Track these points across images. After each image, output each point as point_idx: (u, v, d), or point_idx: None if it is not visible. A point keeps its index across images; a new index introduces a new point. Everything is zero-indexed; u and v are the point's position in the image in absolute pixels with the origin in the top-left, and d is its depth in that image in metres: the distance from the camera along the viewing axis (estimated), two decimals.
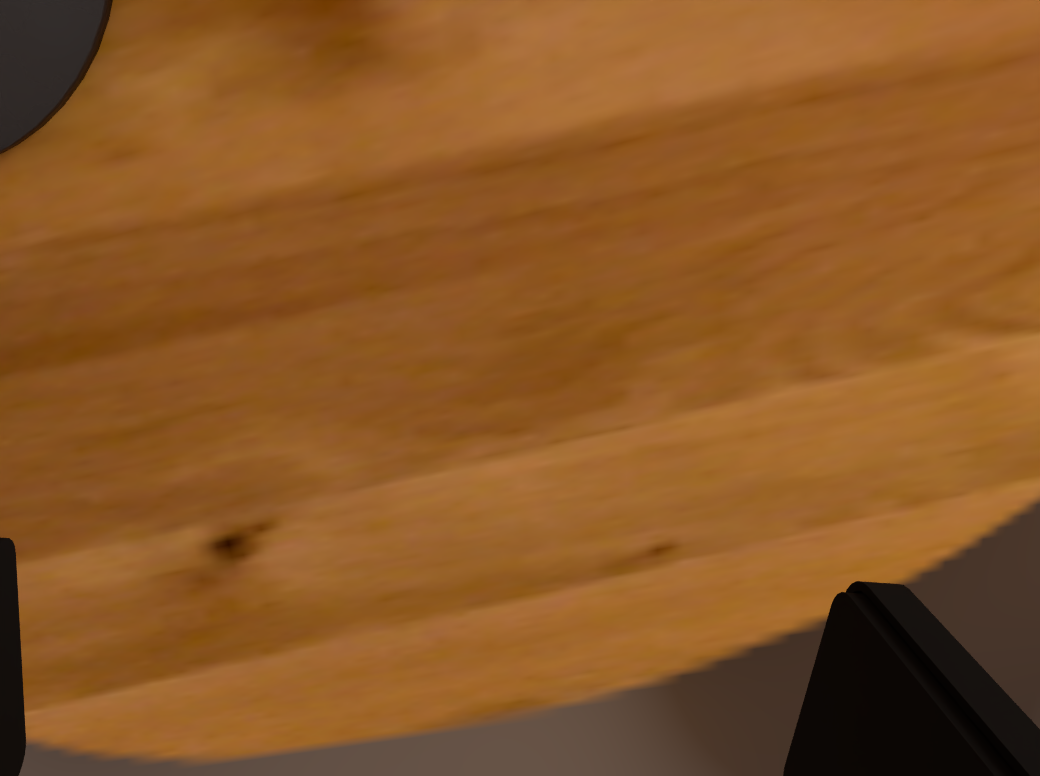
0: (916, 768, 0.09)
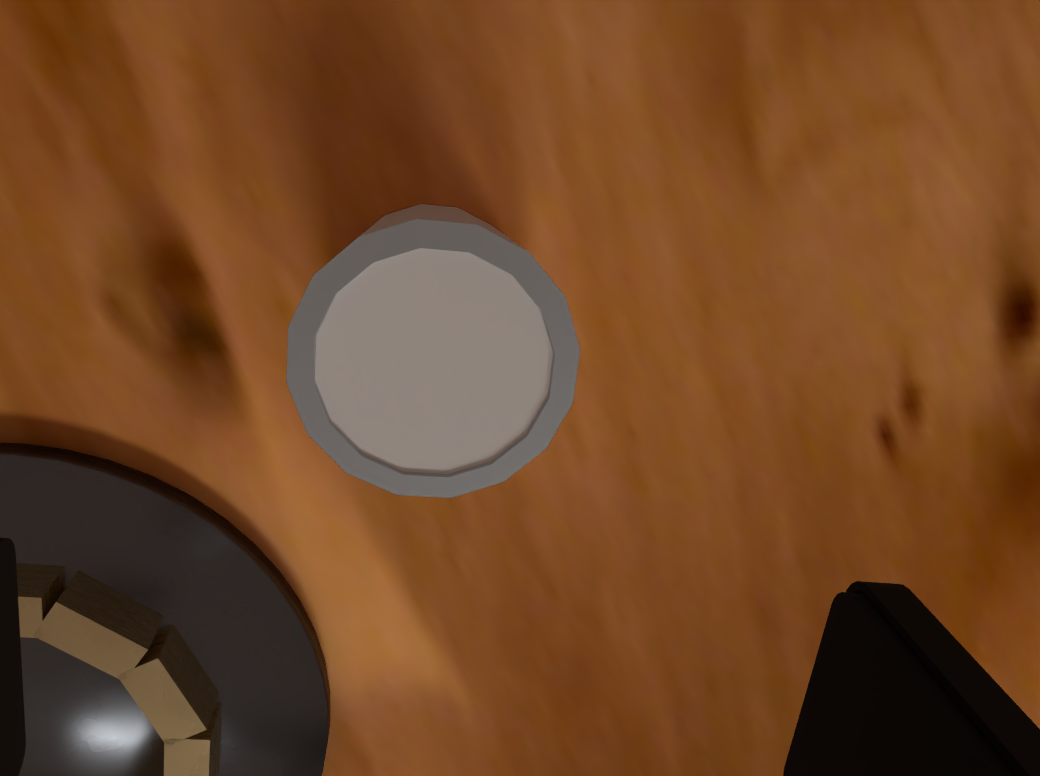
0: (916, 768, 0.09)
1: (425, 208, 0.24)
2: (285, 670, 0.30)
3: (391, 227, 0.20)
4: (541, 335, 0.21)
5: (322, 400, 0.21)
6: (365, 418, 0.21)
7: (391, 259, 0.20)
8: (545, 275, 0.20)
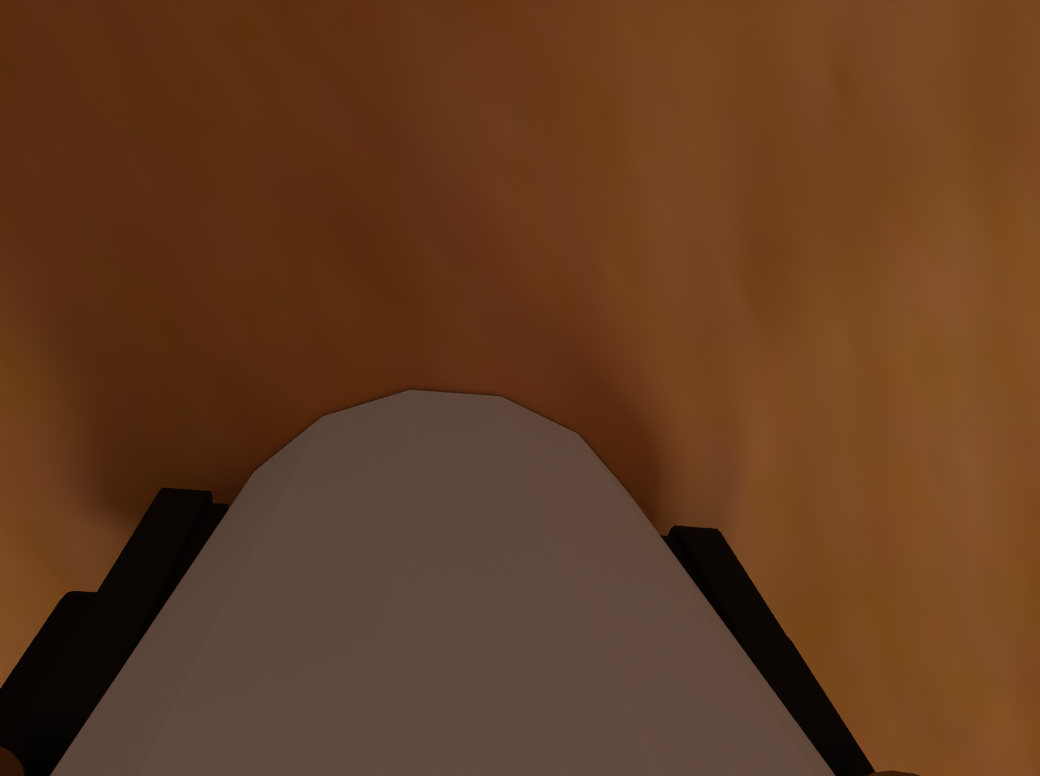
0: None
1: (420, 451, 0.08)
2: None
3: None
4: None
5: None
6: None
7: None
8: None
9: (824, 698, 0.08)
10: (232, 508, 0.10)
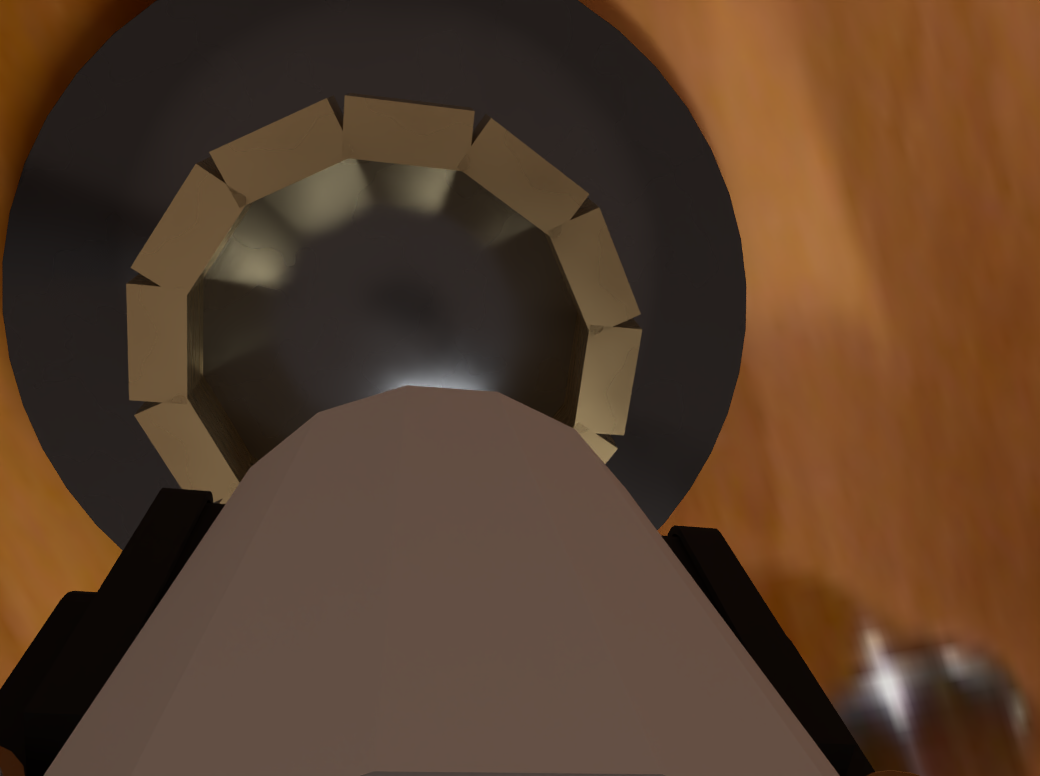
0: None
1: (417, 446, 0.08)
2: (706, 268, 0.25)
3: None
4: None
5: None
6: None
7: None
8: None
9: (824, 698, 0.08)
10: (228, 504, 0.10)
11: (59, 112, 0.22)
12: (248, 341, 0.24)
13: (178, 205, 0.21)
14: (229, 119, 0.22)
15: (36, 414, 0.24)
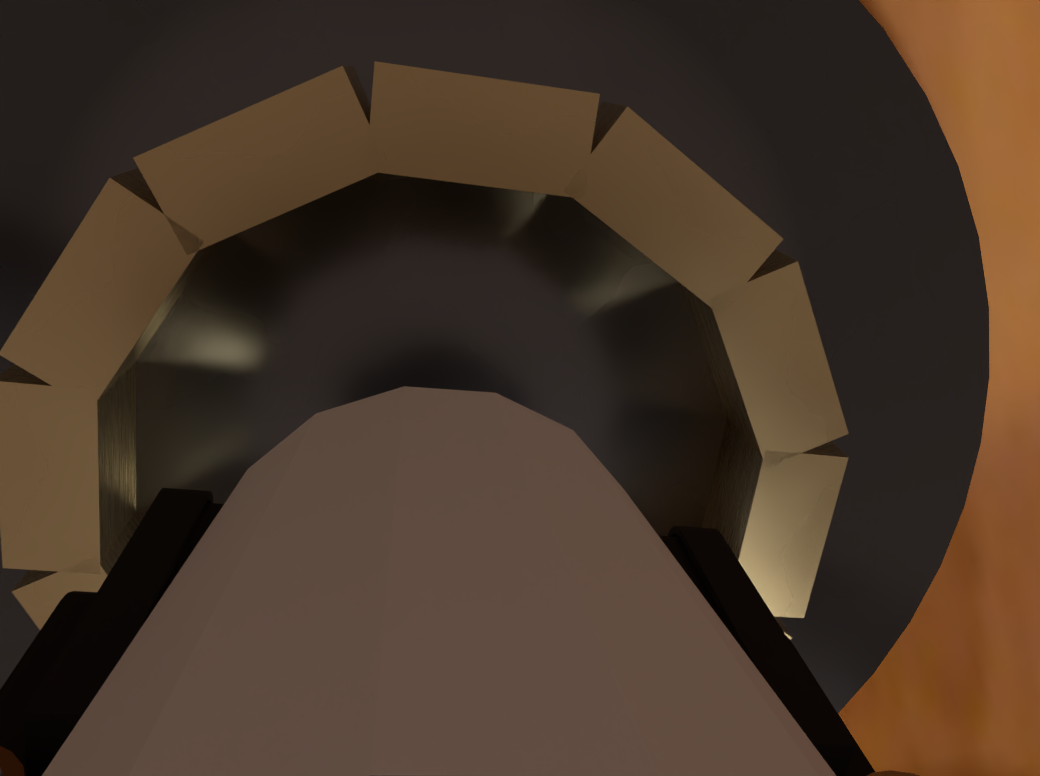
0: None
1: (414, 447, 0.08)
2: (930, 352, 0.16)
3: None
4: None
5: None
6: None
7: None
8: None
9: (824, 698, 0.08)
10: (226, 505, 0.10)
11: None
12: (209, 459, 0.15)
13: (80, 249, 0.12)
14: (177, 103, 0.13)
15: None
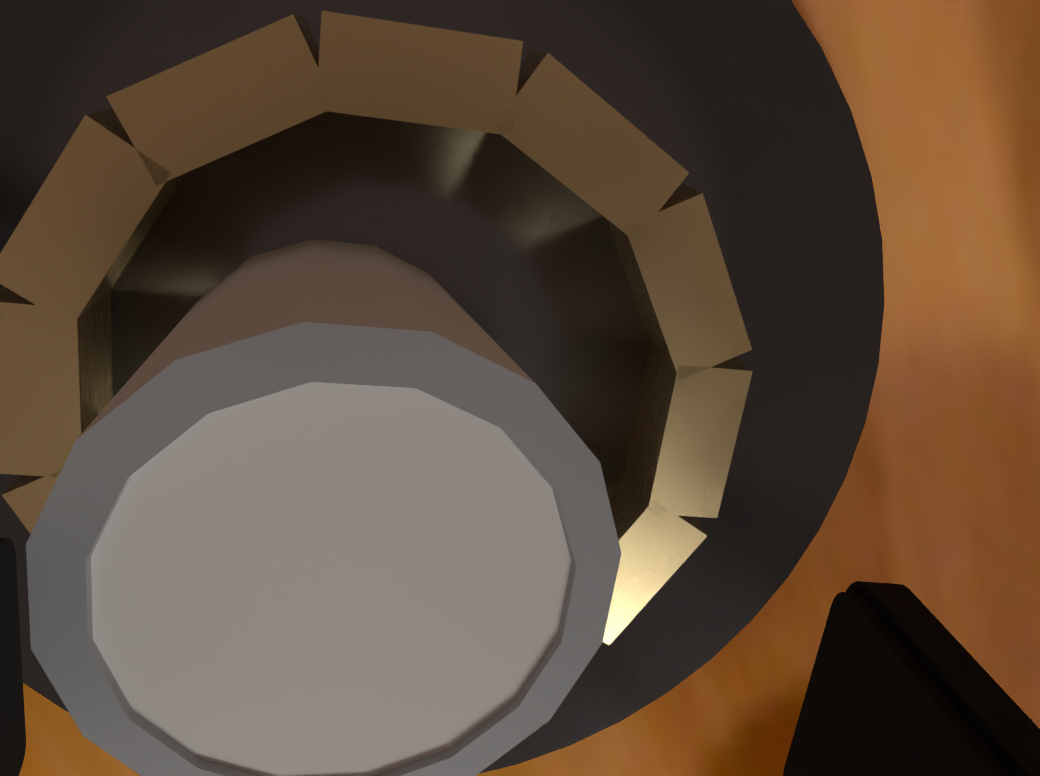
0: (916, 768, 0.09)
1: (319, 258, 0.14)
2: (831, 281, 0.18)
3: (247, 339, 0.09)
4: (551, 533, 0.11)
5: (111, 676, 0.10)
6: (203, 699, 0.11)
7: (249, 404, 0.09)
8: (564, 425, 0.10)
9: None
10: (193, 308, 0.14)
11: None
12: None
13: (59, 180, 0.13)
14: (145, 50, 0.15)
15: None
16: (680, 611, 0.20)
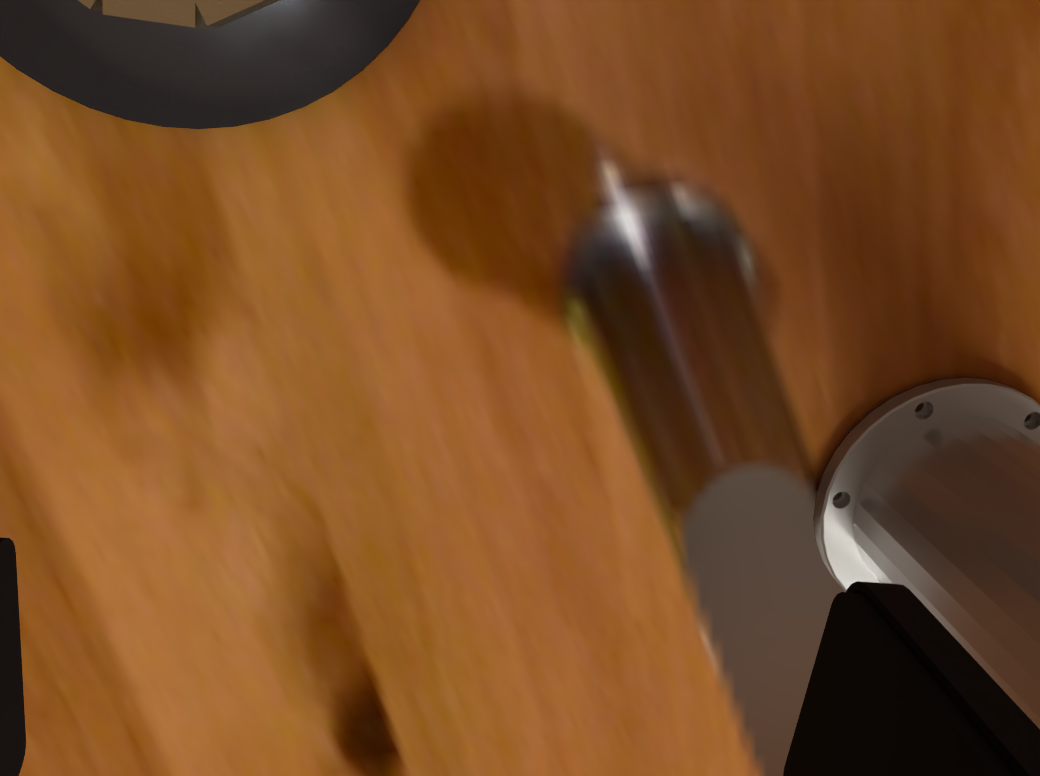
0: (916, 768, 0.09)
1: None
2: None
3: None
4: None
5: None
6: None
7: None
8: None
9: None
10: None
11: None
12: None
13: None
14: None
15: None
16: (361, 6, 0.33)
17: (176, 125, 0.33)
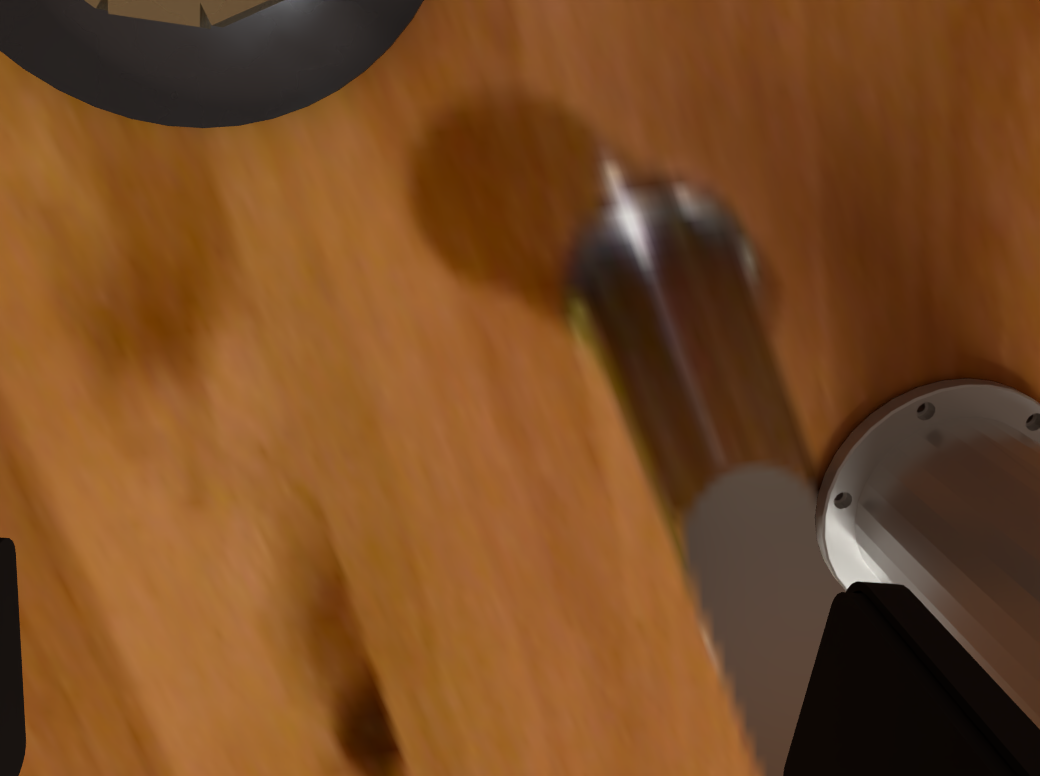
0: (916, 768, 0.09)
1: None
2: None
3: None
4: None
5: None
6: None
7: None
8: None
9: None
10: None
11: None
12: None
13: None
14: None
15: None
16: (365, 6, 0.33)
17: (180, 124, 0.33)
